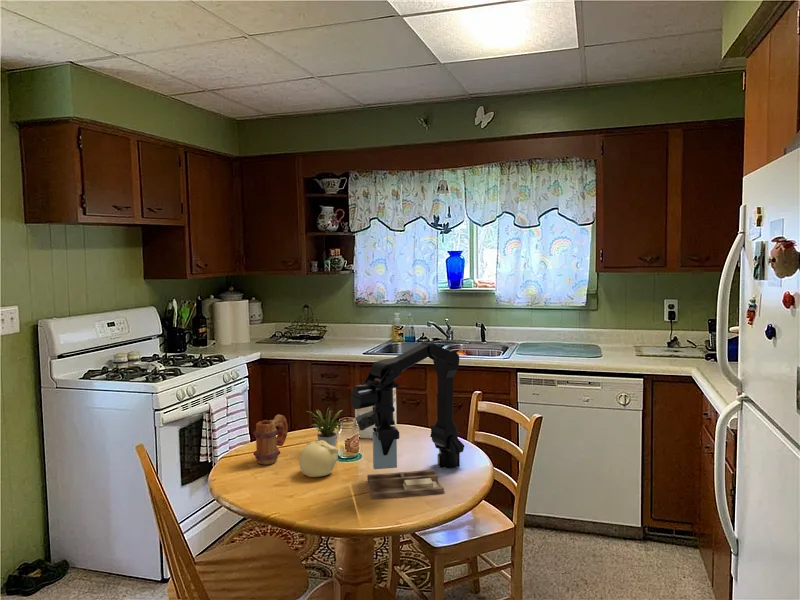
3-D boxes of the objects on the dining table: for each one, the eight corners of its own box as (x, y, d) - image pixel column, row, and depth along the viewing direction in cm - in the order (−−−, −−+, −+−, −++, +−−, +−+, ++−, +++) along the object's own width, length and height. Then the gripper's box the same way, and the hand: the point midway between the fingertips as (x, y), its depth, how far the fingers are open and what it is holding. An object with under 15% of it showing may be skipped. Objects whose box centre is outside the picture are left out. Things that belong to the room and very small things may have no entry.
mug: (265, 469, 203) (264, 424, 202) (248, 464, 208) (246, 421, 206) (295, 456, 216) (294, 414, 214) (278, 452, 220) (277, 411, 219)
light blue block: (395, 465, 187) (395, 430, 186) (396, 467, 185) (396, 432, 184) (373, 467, 186) (372, 431, 185) (374, 469, 184) (373, 433, 183)
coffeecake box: (397, 434, 239) (396, 385, 237) (392, 440, 232) (392, 390, 230) (360, 432, 242) (359, 384, 241) (355, 438, 235) (354, 388, 234)
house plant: (300, 458, 213) (298, 412, 212) (307, 445, 227) (306, 402, 225) (340, 458, 212) (339, 412, 211) (346, 445, 226) (345, 402, 225)
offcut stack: (435, 485, 185) (435, 477, 185) (438, 490, 181) (438, 482, 181) (403, 487, 184) (402, 480, 183) (405, 493, 179) (405, 485, 179)
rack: (434, 478, 193) (434, 468, 193) (445, 496, 179) (445, 484, 179) (365, 484, 189) (365, 473, 189) (371, 502, 176) (371, 490, 175)
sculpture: (343, 471, 200) (342, 439, 199) (319, 483, 190) (318, 449, 189) (317, 465, 207) (316, 433, 206) (292, 476, 197) (291, 443, 196)
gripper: (354, 397, 192) (355, 445, 193) (360, 413, 173) (361, 466, 175) (389, 395, 194) (389, 443, 195) (399, 411, 175) (400, 463, 177)
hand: (384, 453), depth 185 cm, fingers closed on light blue block, 2 cm apart
